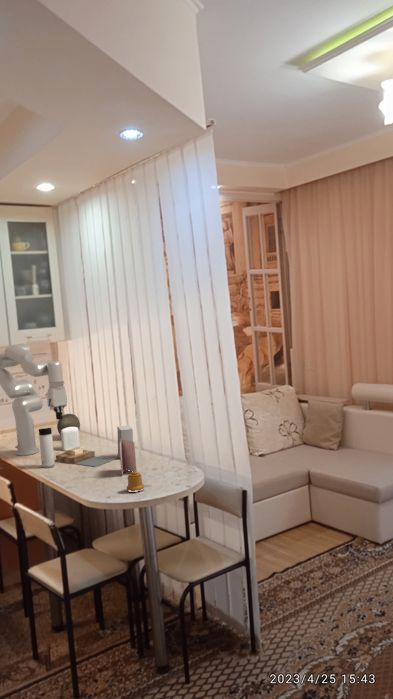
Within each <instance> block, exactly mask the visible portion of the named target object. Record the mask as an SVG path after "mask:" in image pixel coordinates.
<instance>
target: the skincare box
mask: <svg viewBox="0 0 393 699" xmlns="http://www.w3.org/2000/svg"><path fill="white" fill-rule="evenodd" d="M116 429H117V456H118V457H119V459H121V454H120V447H119V442H120V441H121V439H125V440H128V441H132V442H134V435H133V434H134V430H133V427H131V426H130V425H121V426H117V428H116Z"/></svg>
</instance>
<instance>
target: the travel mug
mask: <svg viewBox="0 0 393 699" xmlns="http://www.w3.org/2000/svg"><path fill="white" fill-rule="evenodd" d="M38 438H39V440H38V441H39V451H40V458H41V467H42V468H43V469H51V468H54V467H55V466H56V465H55V463H56V462H55V452H54V443H53V442H54V441H53V431H52V427H46V428H39V429H38Z"/></svg>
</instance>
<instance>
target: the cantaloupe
mask: <svg viewBox="0 0 393 699" xmlns="http://www.w3.org/2000/svg"><path fill="white" fill-rule="evenodd" d="M62 417H63V419H60V420H59V419H58V421H57V425H56V427H57V432H58V434H59V435H60V436H61V430H62V429H64V428H67V427H77V428H78V430H79V431H80V428H81V423H80V419H79V418H78V416H77V415H76V414H73V413H65V414H62Z"/></svg>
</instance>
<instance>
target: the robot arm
mask: <svg viewBox="0 0 393 699" xmlns="http://www.w3.org/2000/svg"><path fill="white" fill-rule="evenodd" d="M18 365H20V367H21V369H22V371H23V372H24V373H25V374H27V375H29V376H31V377H33V378H35V377H36V378H38V377H43V376H47V377H48V378H47V380H48V388H47V392H46V394H47V396H46V399H47V402H46V403H47V407H49V410H52V411H54V413H55V417H56V418H55V419H56V420H58V421H59V420H60V419H63V417H62V416H63V411H64V409H65V408H66V407H67V405H68V395H67V391H66V388H65V386H64V384H65V381H64V376H63V365H62V362H61V361H58V360H55V361H54V360H53V361H52V360H43V361H37V362H34V355H33V353H32V350H31V347H30V346H29V345H28V344H26V343H17V344H10V345H8V346H7V347H6V348H5V350H4V352H0V387H1V388H2V390H3V391H4V394H6V396H7V397H8V398H9V399H12V400H13V401H12V404H11V408H12V411H13V416H14V420H15V430H16V439H17V444H16V445H15V447H14V448H15V449H17V450H16V451H15V455H17V456H29V455H34V454H38V453H39V452H40V448H37V447H36V446H37V445H36V433H35V424H34V419H33V417H32V415H31V414H30V413H33V412H36V411H40V410H41V409H42V408H43V406H44V402H43V398H42V397H41V395H40V393H39V392H38V390H37V388H36V387H35V386H34V384H33V383H32V381H30V380H27V379H20V380H17V379H16V377H15V376H14V374H12V372H11V371H9V370H8V369H6V368H13V367H16V366H18Z"/></svg>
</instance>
